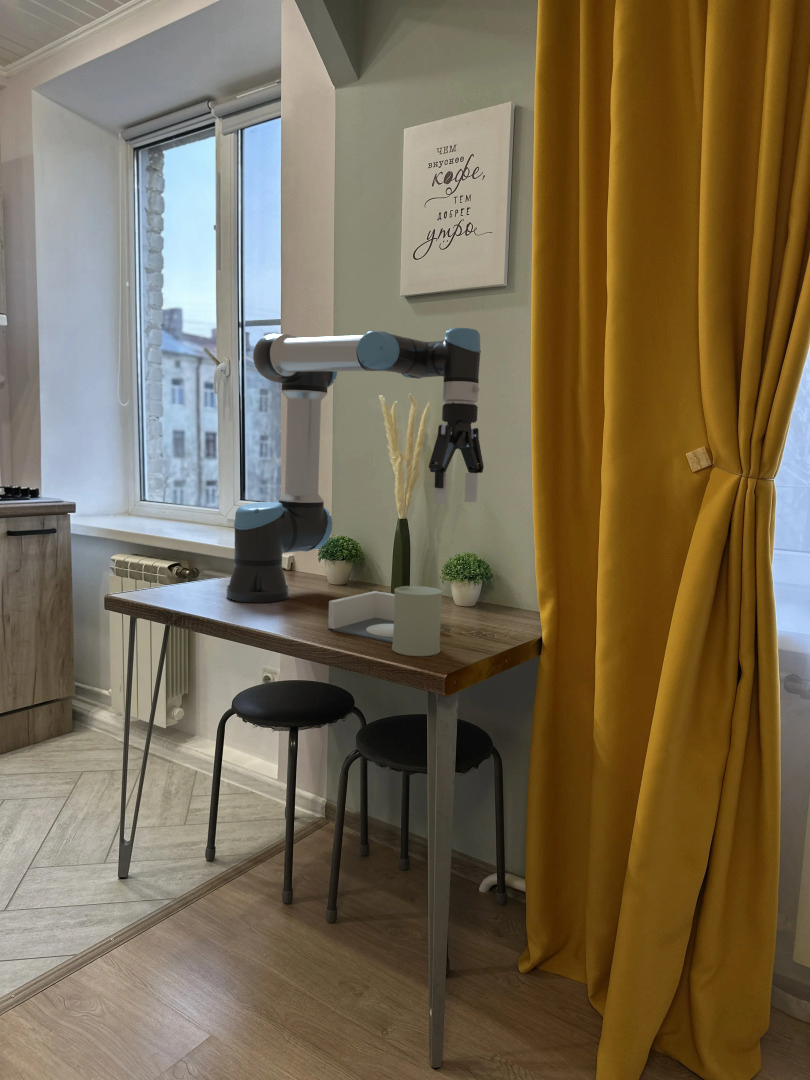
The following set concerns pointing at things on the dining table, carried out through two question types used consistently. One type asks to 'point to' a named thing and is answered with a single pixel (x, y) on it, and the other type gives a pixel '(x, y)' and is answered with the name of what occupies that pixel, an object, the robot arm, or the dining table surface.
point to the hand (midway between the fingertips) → (456, 503)
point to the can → (417, 620)
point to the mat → (370, 629)
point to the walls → (360, 608)
